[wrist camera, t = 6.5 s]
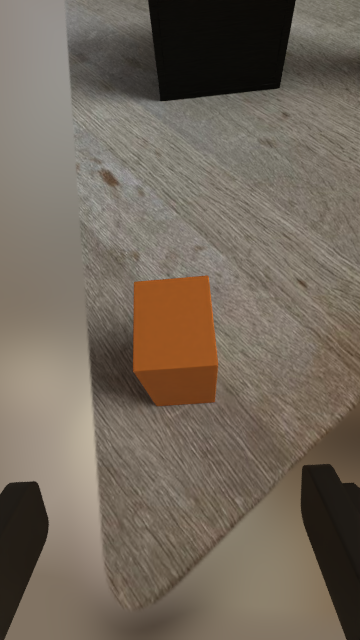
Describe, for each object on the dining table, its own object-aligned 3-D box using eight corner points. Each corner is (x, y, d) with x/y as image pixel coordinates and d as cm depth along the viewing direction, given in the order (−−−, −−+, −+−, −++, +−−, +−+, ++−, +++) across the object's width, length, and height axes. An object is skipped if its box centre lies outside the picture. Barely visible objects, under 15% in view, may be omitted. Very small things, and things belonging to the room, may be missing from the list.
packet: (156, 406, 23) (132, 371, 15) (155, 339, 25) (133, 281, 18) (214, 402, 22) (218, 365, 15) (208, 335, 25) (208, 275, 17)
